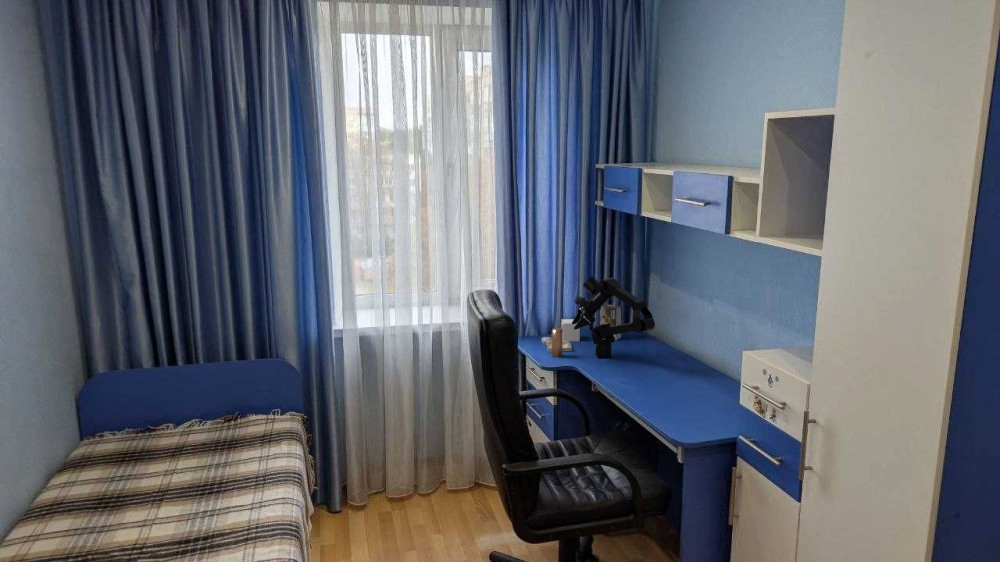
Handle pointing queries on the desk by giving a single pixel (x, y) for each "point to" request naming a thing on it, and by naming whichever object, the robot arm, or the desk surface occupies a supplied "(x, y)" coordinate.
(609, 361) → the desk surface
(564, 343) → the tray
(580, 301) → the robot arm
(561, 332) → the copper cylinder
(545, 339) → the flattened gray dome
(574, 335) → the block
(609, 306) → the coffee box
